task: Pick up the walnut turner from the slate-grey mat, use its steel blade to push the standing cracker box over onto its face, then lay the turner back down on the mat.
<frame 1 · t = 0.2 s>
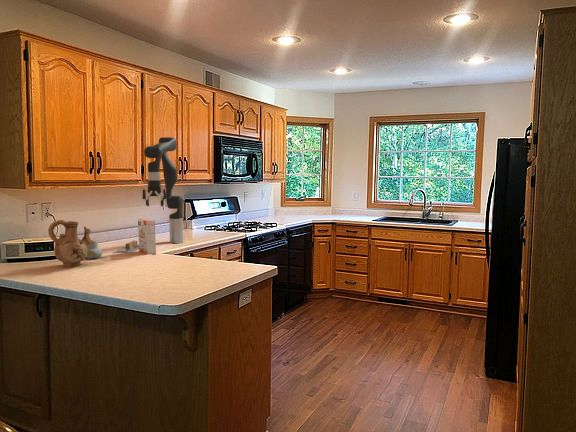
hand: (154, 206, 287), 29 cm above the countertop, tool pointing down, fingers open, 8 cm apart
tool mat: (129, 250, 301), on the countertop
air freshener: (92, 258, 274), on the countertop
cracker box: (147, 253, 291), on the countertop
ceramic vessel: (74, 266, 252), on the countertop
turner: (131, 248, 305), point 1 cm above the countertop, touching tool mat
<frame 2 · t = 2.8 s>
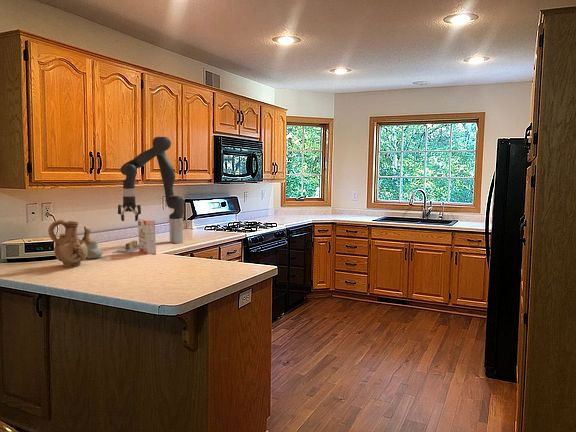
hand: (129, 221, 302), 19 cm above the countertop, tool pointing down, fingers open, 8 cm apart
nothing on the countertop moved.
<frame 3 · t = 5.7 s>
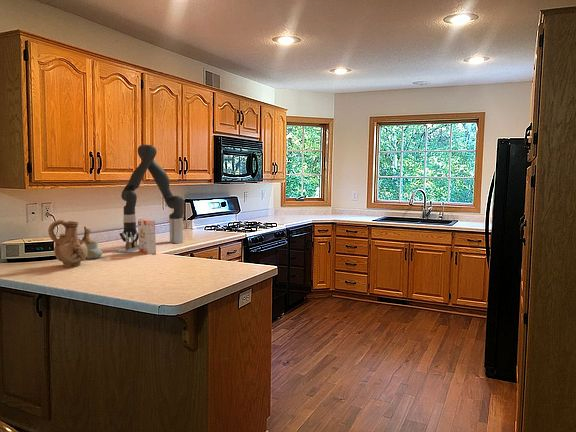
hand: (130, 248, 303), 1 cm above the countertop, tool pointing down, fingers closed on turner, 2 cm apart
turner: (131, 248, 305), point 1 cm above the countertop, touching gripper
everything else where it was.
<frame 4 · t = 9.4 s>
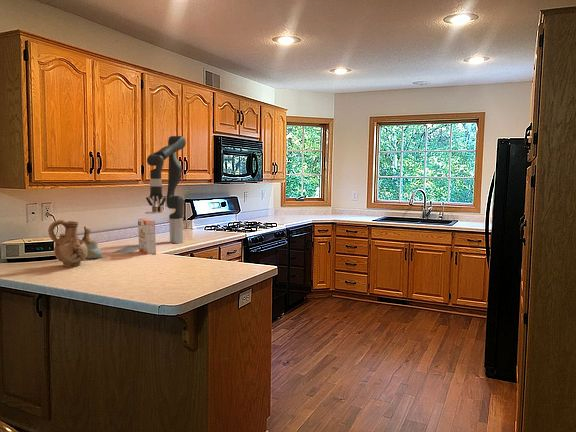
hand: (156, 212, 309), 24 cm above the countertop, tool pointing down, fingers closed on turner
turner: (157, 212, 310), point 23 cm above the countertop, touching gripper
everything else where it was.
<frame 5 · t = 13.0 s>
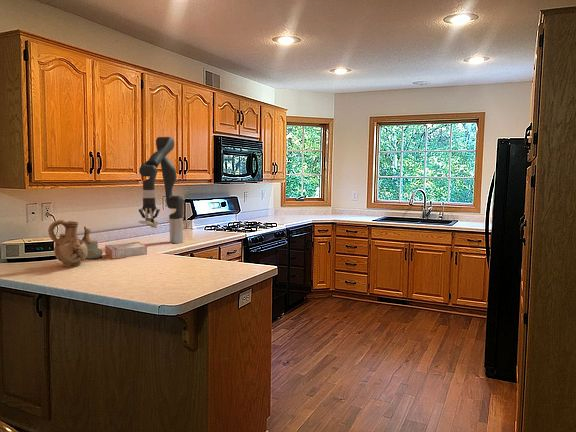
hand: (149, 224, 295), 17 cm above the countertop, tool pointing down, fingers closed on turner
cracker box: (143, 248, 289), point 3 cm above the countertop, touching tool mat
turner: (151, 226, 299), point 16 cm above the countertop, tilted 15°, touching gripper
everything else where it was.
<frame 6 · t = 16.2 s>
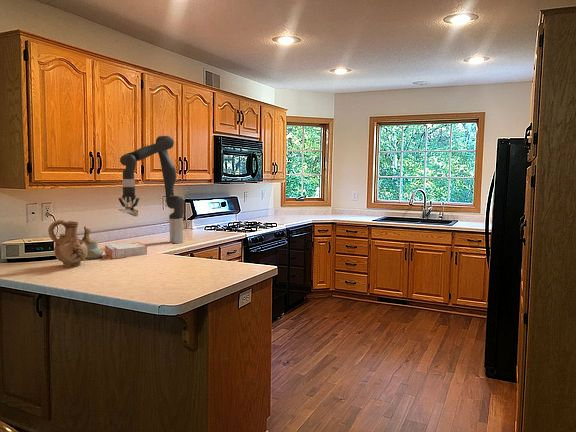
hand: (129, 213, 301), 24 cm above the countertop, tool pointing down, fingers closed on turner
turner: (132, 214, 305), point 22 cm above the countertop, tilted 15°, touching gripper
everything else where it was.
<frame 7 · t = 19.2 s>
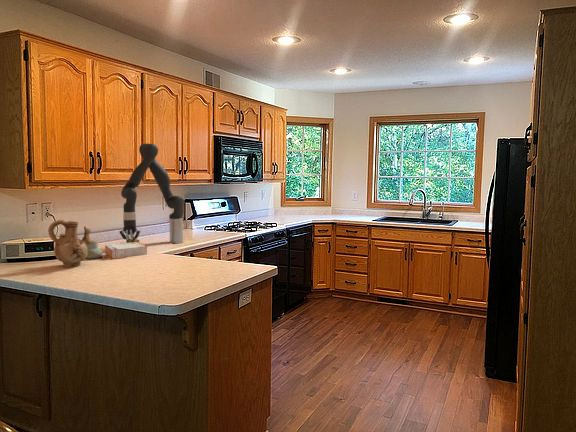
hand: (130, 245, 303), 3 cm above the countertop, tool pointing down, fingers closed on turner, 2 cm apart
turner: (133, 245, 308), point 2 cm above the countertop, tilted 11°, touching gripper
everything else where it was.
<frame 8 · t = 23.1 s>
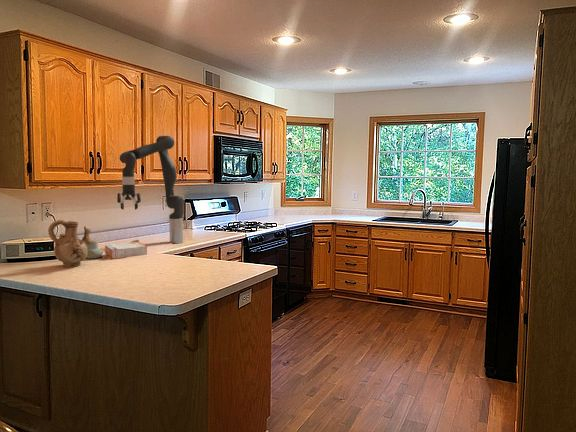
hand: (129, 209, 301), 26 cm above the countertop, tool pointing down, fingers open, 8 cm apart
turner: (133, 247, 308), point 1 cm above the countertop, touching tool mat
everything else where it was.
at the end: cracker box tilted 89°; turner inside the target area on the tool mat (3.9 cm from its centre), point 0.6 cm above the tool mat's base; the gripper is holding nothing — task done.
